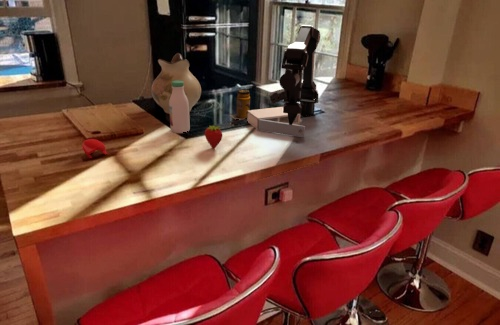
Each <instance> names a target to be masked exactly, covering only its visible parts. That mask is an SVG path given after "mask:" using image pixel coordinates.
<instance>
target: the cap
mask: <svg viewBox="0 0 500 325" xmlns="http://www.w3.org/2000/svg"><path fill="white" fill-rule="evenodd" d="M81 147H82V149H83V152H84V153H85V154H86V156H87V157H88V158H89V159H90V158H91V159H93V156H92V155H91V153H92V154H93V152H94V153H95V152H96V151H98V152H101V153H102V154H104V155H105V156H107V155H108V152H107V150H106V145H105V144H104V143H103V142H102V141H100V140H98V139H95V138H90V139H89V138H88V139H85V140H84V141H83V143H82V146H81ZM106 154H107V155H106Z"/></svg>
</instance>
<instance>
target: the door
mask: <svg viewBox="0 0 500 325" xmlns="http://www.w3.org/2000/svg"><path fill="white" fill-rule="evenodd" d="M256 130H257V131H262V132H267V133H273V134H280V135H285V136H291V137H292V136H293V137H299V138H305V134H306V133H305V132H306V126H305V125H302V124H301V125H300V124H299V125H296V124H292V125H289V123H282V122H276V121H269V120H262V119H258V123H257V129H256Z"/></svg>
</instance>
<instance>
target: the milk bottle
mask: <svg viewBox="0 0 500 325" xmlns="http://www.w3.org/2000/svg"><path fill="white" fill-rule="evenodd" d="M183 87H184V82H183V81H172V88H173V90H172V94H171V97H170V100H169V112H170V114H169V125H170V131H171V133H173V134H184V133H183V132H186V133H188V132H189V131H190V129H191V126H190V125H191V124H190V112H189V103H188V99H187V97H186V95H185V93H184V90H183ZM187 131H188V132H187Z"/></svg>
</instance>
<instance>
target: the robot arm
mask: <svg viewBox="0 0 500 325" xmlns="http://www.w3.org/2000/svg"><path fill="white" fill-rule="evenodd" d="M320 41H321V32H320V30H319V29H317V28H315V27H314V26H313V25H310V24H309V25H307V24H302V25H300V26H299V29H298V30H297V35H296V38H295V39H294V41H293V43H290V44H289V45H288V46H287V47H286V50H284V53H283V57H282V58H283V59H282V62H281V67H280V68H281V69H283V70H285V71H284V73H283V74H282V75H281V76H280V78H279V85H280V87H281V88H280V89H278V90H274V91H271V92H269V94H268V95H269V100H270V103H271V104H273V105H274V104H276V103H278V102H282V101H283V102H284V103H283V106H282V107H283V113H288V120H289V125H292V124H293V122H294V120H295V118H296V116H297V115H298V114H300V116H302V117H303V118H304V117H305V118H306V117H314V116H317V114H316V113H315V107H316V104H318V103H319V97H320V96H319V93H318V89H317V84H316V82H315V81H314V68H315V67H314V63H315V51H316V50H317V47H318V45H319V44H320Z"/></svg>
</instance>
